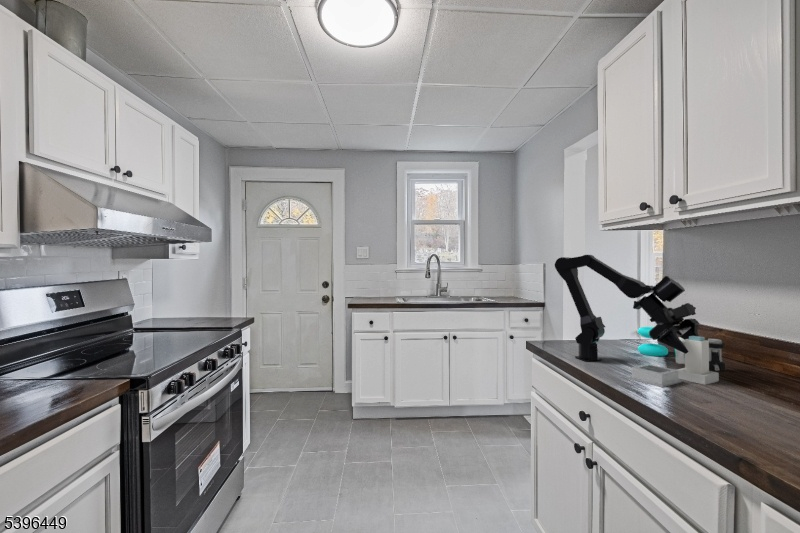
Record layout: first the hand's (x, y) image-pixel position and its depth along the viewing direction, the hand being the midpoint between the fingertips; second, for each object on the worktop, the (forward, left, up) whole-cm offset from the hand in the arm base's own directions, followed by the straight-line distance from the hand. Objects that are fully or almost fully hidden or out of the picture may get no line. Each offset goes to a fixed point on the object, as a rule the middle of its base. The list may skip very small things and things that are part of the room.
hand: (695, 351), depth 121 cm
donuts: (-32, +15, -9) cm, 36 cm away
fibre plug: (0, 0, -9) cm, 9 cm away
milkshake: (-18, +13, -9) cm, 24 cm away
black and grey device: (-8, +15, -9) cm, 19 cm away
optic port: (-2, -13, -9) cm, 16 cm away
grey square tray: (0, 0, -9) cm, 9 cm away
